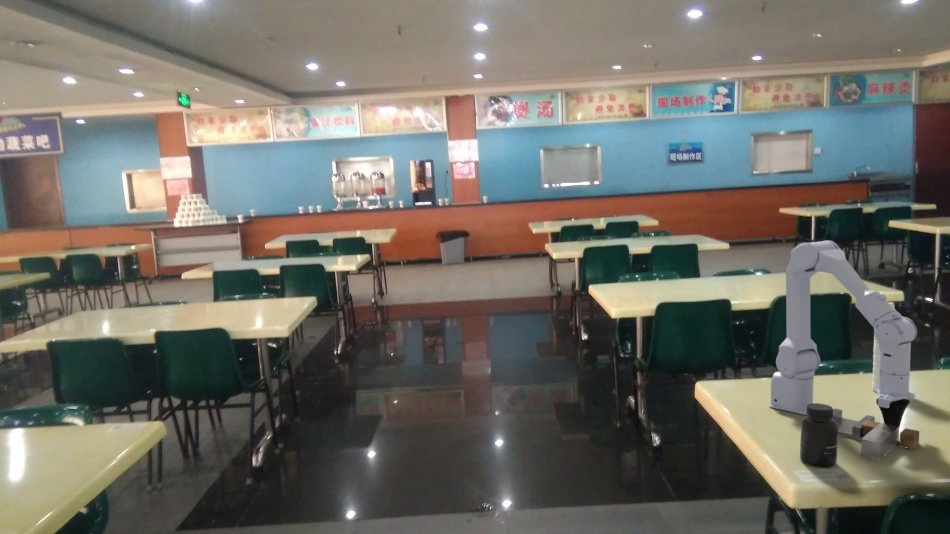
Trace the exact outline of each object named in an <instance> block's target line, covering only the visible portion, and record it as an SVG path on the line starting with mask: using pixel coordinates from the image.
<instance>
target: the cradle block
mask: <svg viewBox="0 0 950 534" xmlns="http://www.w3.org/2000/svg"><path fill="white" fill-rule="evenodd" d="M832 419H833V420H834V421H835V422H836V423H837V425H838V436H840V435H841V437H844V436H845V438H848V437H850V438H849V439H853V438H855V439H854V440H857V439H858V440H857V441H861V439H862V438H863V437H864V434H863V426H862V425H861V424H863V423H864V422H865V421H866V420H870V421H875V420H876V419H875V416H873V415H868V414H867V415H866V416H864V417H863V418H861V419H860V420H859V421H858V420H854V419H848V418H845V417H843V409H839V408H833V418H832ZM875 422H876V421H875Z"/></svg>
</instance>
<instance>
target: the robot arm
mask: <svg viewBox="0 0 950 534" xmlns="http://www.w3.org/2000/svg"><path fill="white" fill-rule="evenodd" d="M818 272H822V273H828V274H831V275H832V276H834V278H835V279H836V280H837V281H838V282H839V283H840V284H841V285H842V286H843V287H844V288H845V289H846V290H847V291H848V292H849V294H851V295H852V296H853V297H854V298H855V303H854V304H855V305H854V306H855V308H856V309H857V310H858V311H859V313H861V315H863V317H864V318H865V320H867V322H869V324H870V326H871V327H873V329H874V328H875V329H876V331H875V330H873V335H875V338H876V340H877V341H878V343H879V350H880V360H879V387H878V389H877V392H876V394H877V396H878V397H877V398H876V400H875V401H876V405H877V406H878V408H879V410H880V412H881V413H880V414H881V415H882V419H883V423H885V424H890V425H895V426H899V428H900V426H901V423H902V420H903V417H904V414H905V411H906V410H907V408H908V406H909V405H910V403H911V400H910V399H915V398H916V393H914V392H910V376H911V375H910V372H911V350H912V349H911V346H912V342H913V341H914V340H915V339H916V338H917V335H918V329H917V327H916V325H915V323H914V321H913V320H912V319H910V318H909V317H906V316H902V314H901V313H900V312H899V311H897V310H896V309H895V310H896V311H897V312H896V311H895V310H894V308H895V307H894V308H893V307H892V306H891V305H890V304H889V303H888V301H887V299H888V297H887V296H886V295H885V294H884V293H881V292H879V291H878V290H870V288H869V287H868V286H867V284H866V283H865V282H864V281H863V279H862V278H861V277H860V275H859V274H858V273H857V272H856V270H855V269H854V268H853V267H852V265H851V264H850V262H849V261H848V260H847V258H846V254H845V251H843V250H842V249H841V248H840V247H839V245H838V244H837V243H836V242H834V241H833V240H829V239H828V240H827V239H826V240H822V241H813V242H801V243H799V244H798V245H796V246H795V247H794V248H792V249H791V250H790V260H789V262H788V265H787V266H786V270H785V286H786V287H785V289H786V290H785V291H786V293H785V294H786V295H785V299H786V300H785V301H786V302H785V303H786V304H785V306H786V307H785V308H786V310H785V311H786V314H785V316H786V317H785V318H786V320H785V321H786V338H784V340H783V341H782V342H781V343H780V345H779V346H778V354H777V356H776V359H775V364H776V368H777V370H778V371H775V372H774V373H773V375H772V378H771V382H770V404H769V408H772V409H777V410H782V411H785V412H791V413H795V414H800V415H804V416H808V415H807V414H806V411H807V405H808V404H811V403H814V375H815V374H816V370H818V369H819V367H820V366H821V357H820V355H819V352H818V348H817V347H818V346H817V343H815V342H814V340H813V339H812V338H811V336H812V335H811V278H812V277H813V276H814V275H815V274H817V273H818Z"/></svg>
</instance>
